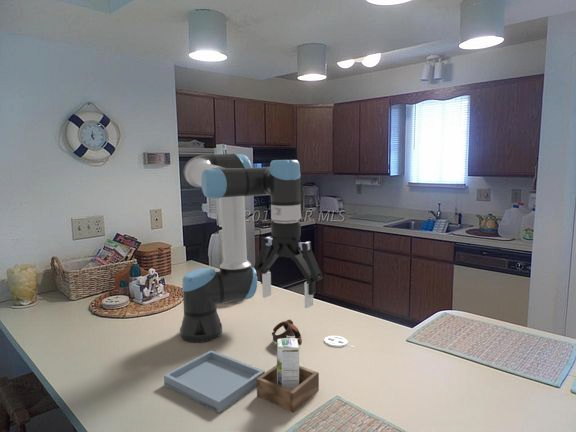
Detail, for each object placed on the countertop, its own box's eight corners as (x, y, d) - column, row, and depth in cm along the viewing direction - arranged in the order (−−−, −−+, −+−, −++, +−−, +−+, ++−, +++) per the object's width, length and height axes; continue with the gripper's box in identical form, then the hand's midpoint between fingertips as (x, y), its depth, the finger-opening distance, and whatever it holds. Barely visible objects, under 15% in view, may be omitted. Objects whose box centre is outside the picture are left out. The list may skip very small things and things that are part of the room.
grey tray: (164, 385, 114) (163, 375, 113) (211, 359, 128) (211, 350, 127) (219, 413, 101) (218, 402, 100) (264, 380, 115) (264, 371, 115)
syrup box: (276, 387, 112) (275, 338, 109) (297, 386, 112) (297, 337, 110) (278, 399, 106) (277, 348, 104) (300, 398, 106) (299, 346, 104)
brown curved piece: (303, 349, 134) (292, 332, 132) (279, 359, 137) (267, 342, 134) (304, 326, 145) (293, 309, 143) (281, 335, 148) (270, 319, 145)
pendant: (330, 336, 144) (330, 333, 144) (358, 343, 138) (358, 341, 138) (320, 343, 138) (320, 341, 138) (349, 351, 132) (349, 349, 132)
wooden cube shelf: (257, 396, 108) (256, 378, 107) (283, 376, 117) (283, 360, 117) (293, 412, 101) (293, 393, 100) (318, 389, 110) (318, 372, 110)
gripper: (239, 219, 106) (242, 296, 109) (320, 227, 92) (320, 315, 95) (258, 215, 112) (259, 288, 115) (336, 222, 98) (336, 306, 101)
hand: (287, 301), depth 105 cm, fingers open, 13 cm apart
